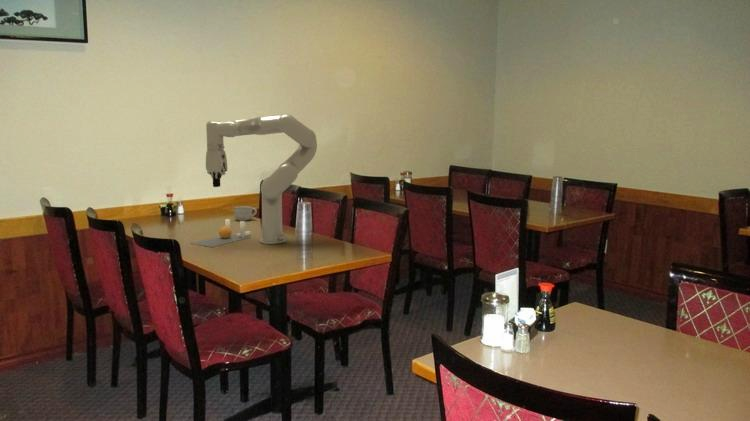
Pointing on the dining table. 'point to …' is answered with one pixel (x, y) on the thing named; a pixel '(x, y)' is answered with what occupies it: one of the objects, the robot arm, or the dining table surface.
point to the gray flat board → (218, 241)
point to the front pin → (245, 234)
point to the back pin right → (227, 223)
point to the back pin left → (242, 229)
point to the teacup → (244, 213)
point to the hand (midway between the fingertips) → (216, 186)
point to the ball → (225, 232)
